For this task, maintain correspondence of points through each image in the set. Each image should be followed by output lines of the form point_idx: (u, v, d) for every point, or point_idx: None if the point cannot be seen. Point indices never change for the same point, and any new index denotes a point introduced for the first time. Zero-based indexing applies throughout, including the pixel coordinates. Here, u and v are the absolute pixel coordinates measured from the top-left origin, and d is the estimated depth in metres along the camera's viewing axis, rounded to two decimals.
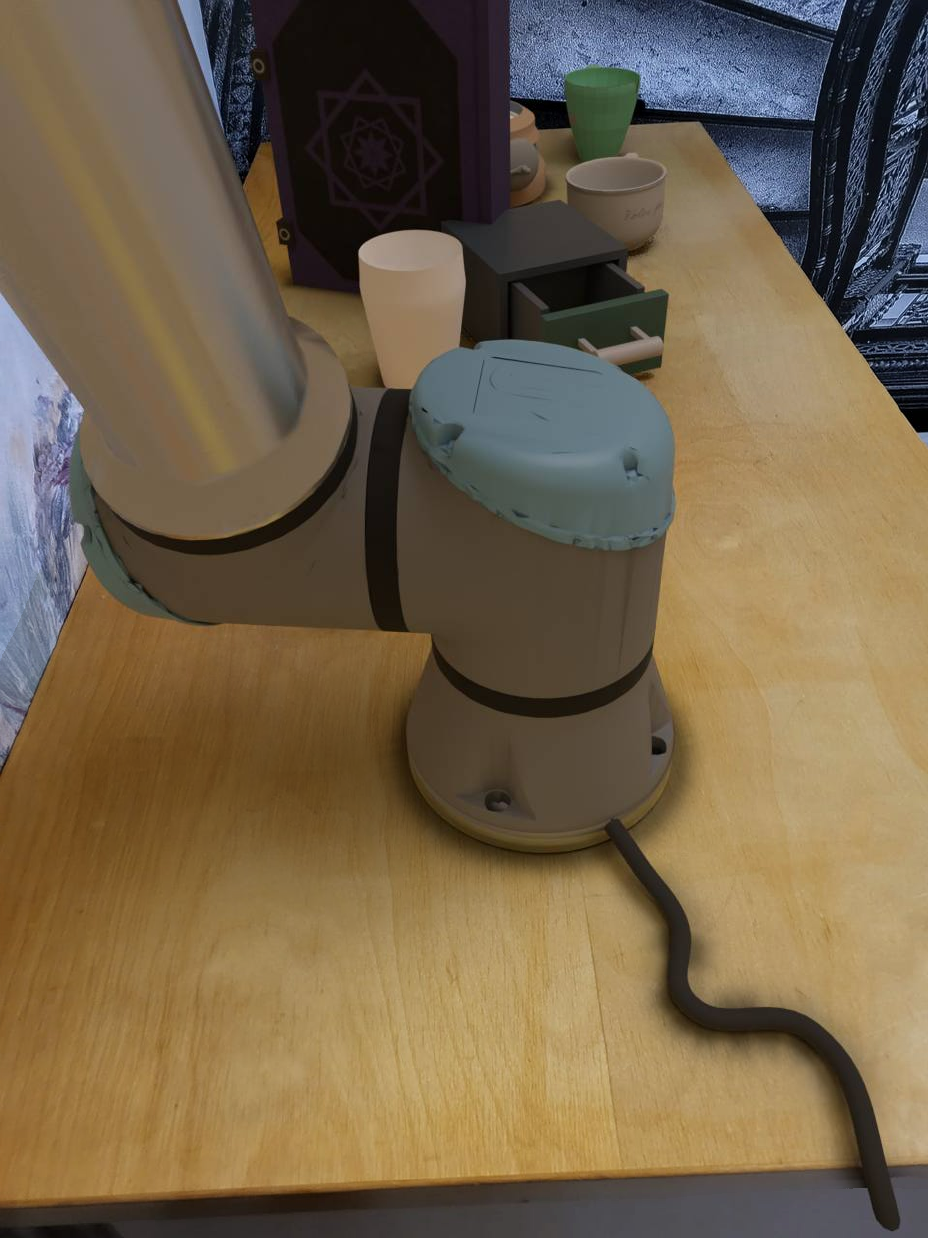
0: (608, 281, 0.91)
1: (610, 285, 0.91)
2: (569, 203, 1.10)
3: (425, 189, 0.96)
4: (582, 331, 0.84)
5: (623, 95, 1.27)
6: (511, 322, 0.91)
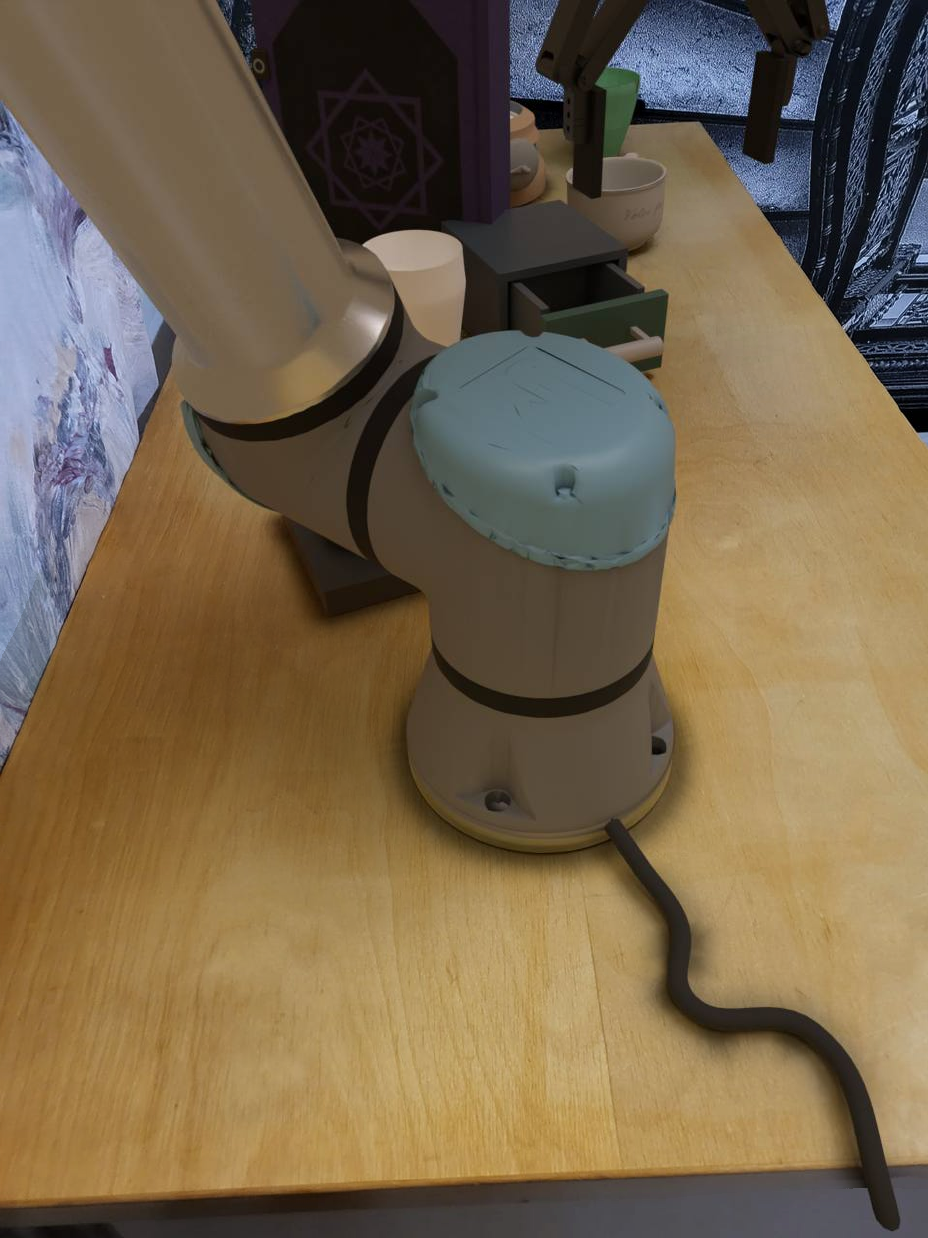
0: (608, 281, 0.91)
1: (610, 285, 0.91)
2: (569, 203, 1.10)
3: (425, 189, 0.96)
4: (582, 331, 0.84)
5: (623, 95, 1.27)
6: (511, 322, 0.91)
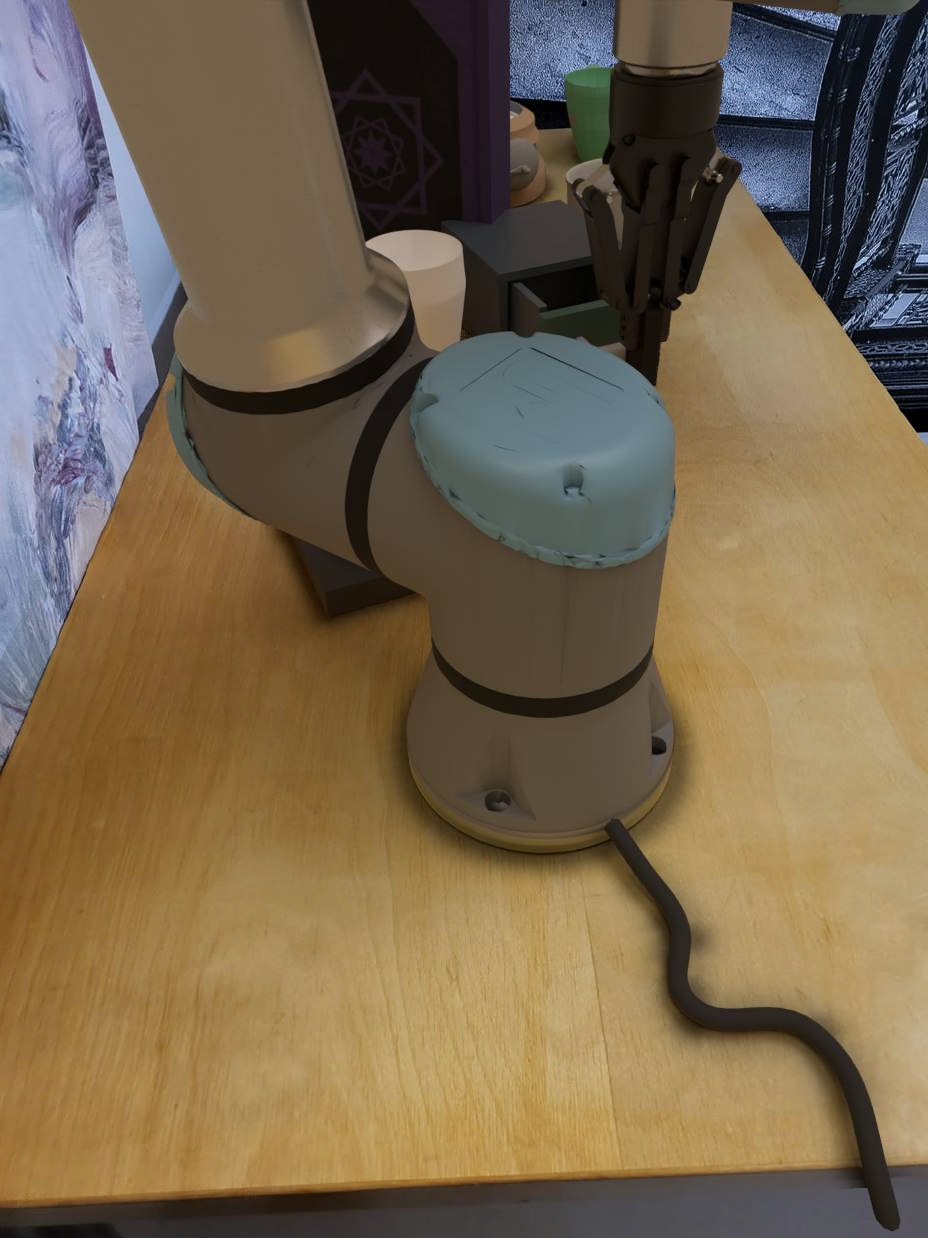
0: None
1: None
2: (569, 203, 1.10)
3: (425, 188, 0.96)
4: (580, 329, 0.85)
5: None
6: (509, 320, 0.91)
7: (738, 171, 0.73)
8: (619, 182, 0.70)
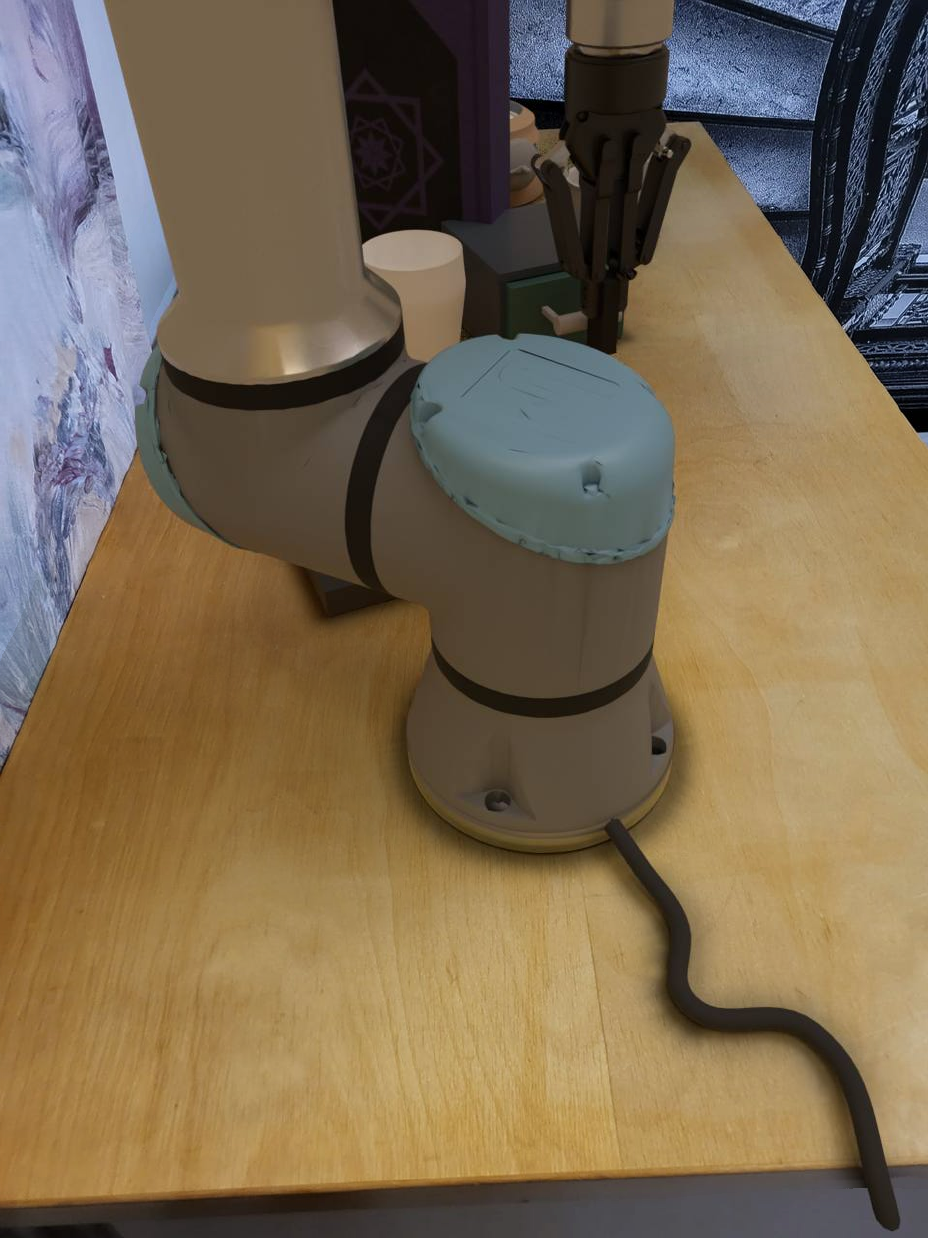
0: None
1: None
2: None
3: (425, 189, 0.96)
4: (545, 299, 0.89)
5: None
6: None
7: (687, 147, 0.78)
8: (575, 157, 0.75)
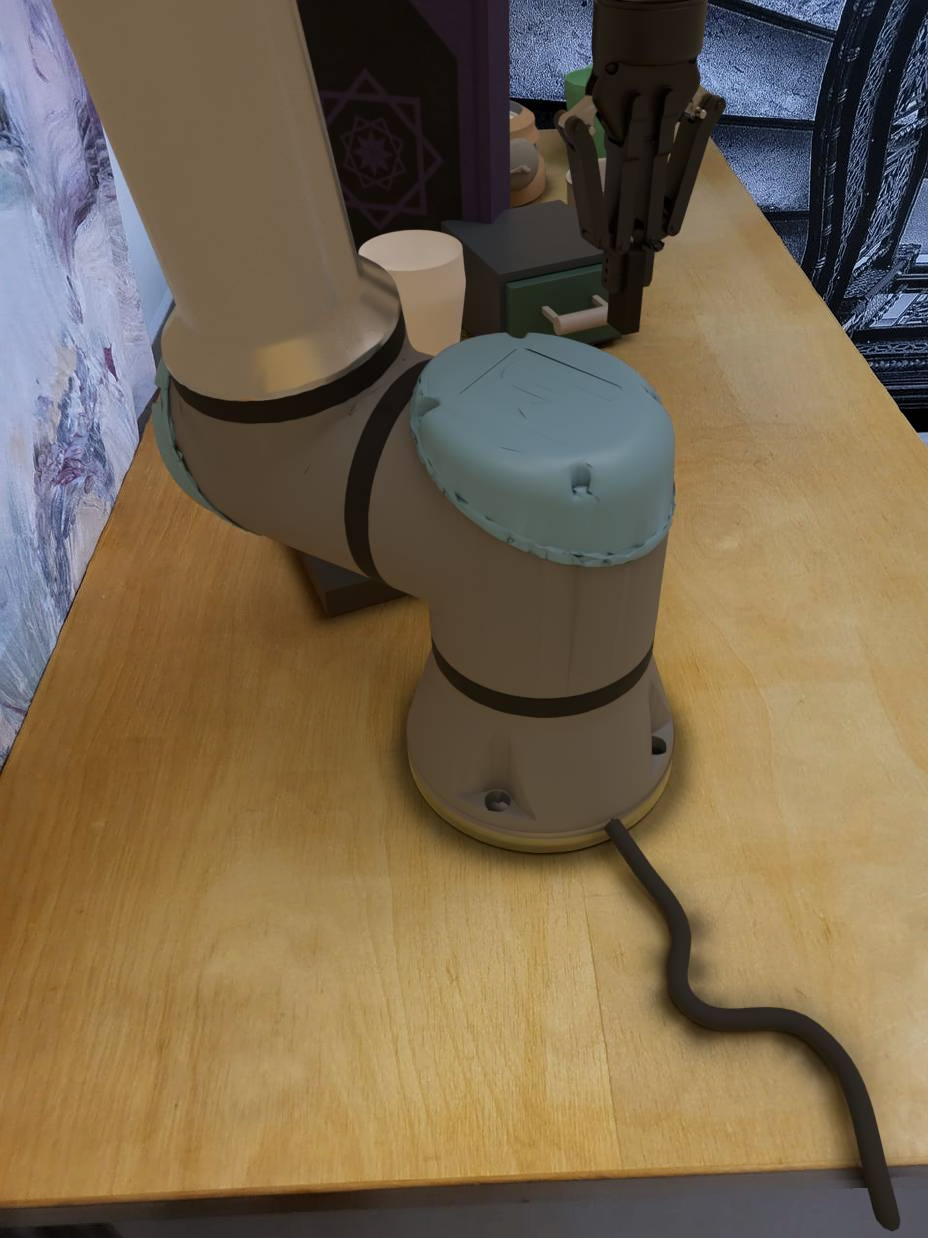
0: None
1: None
2: (569, 203, 1.10)
3: (425, 188, 0.96)
4: (545, 299, 0.89)
5: None
6: None
7: (722, 107, 0.72)
8: (602, 113, 0.69)
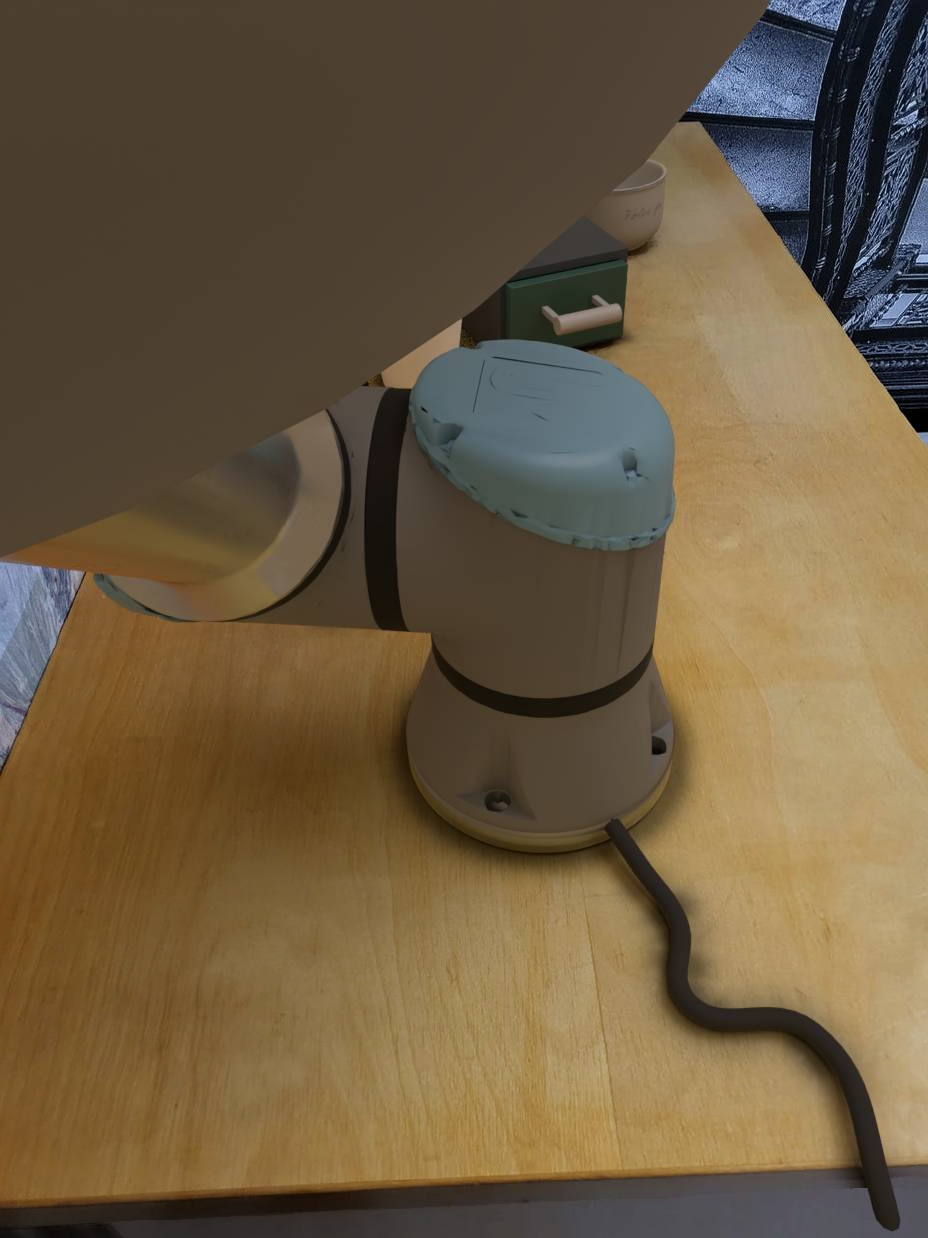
0: None
1: None
2: None
3: None
4: (545, 299, 0.89)
5: None
6: None
7: None
8: None
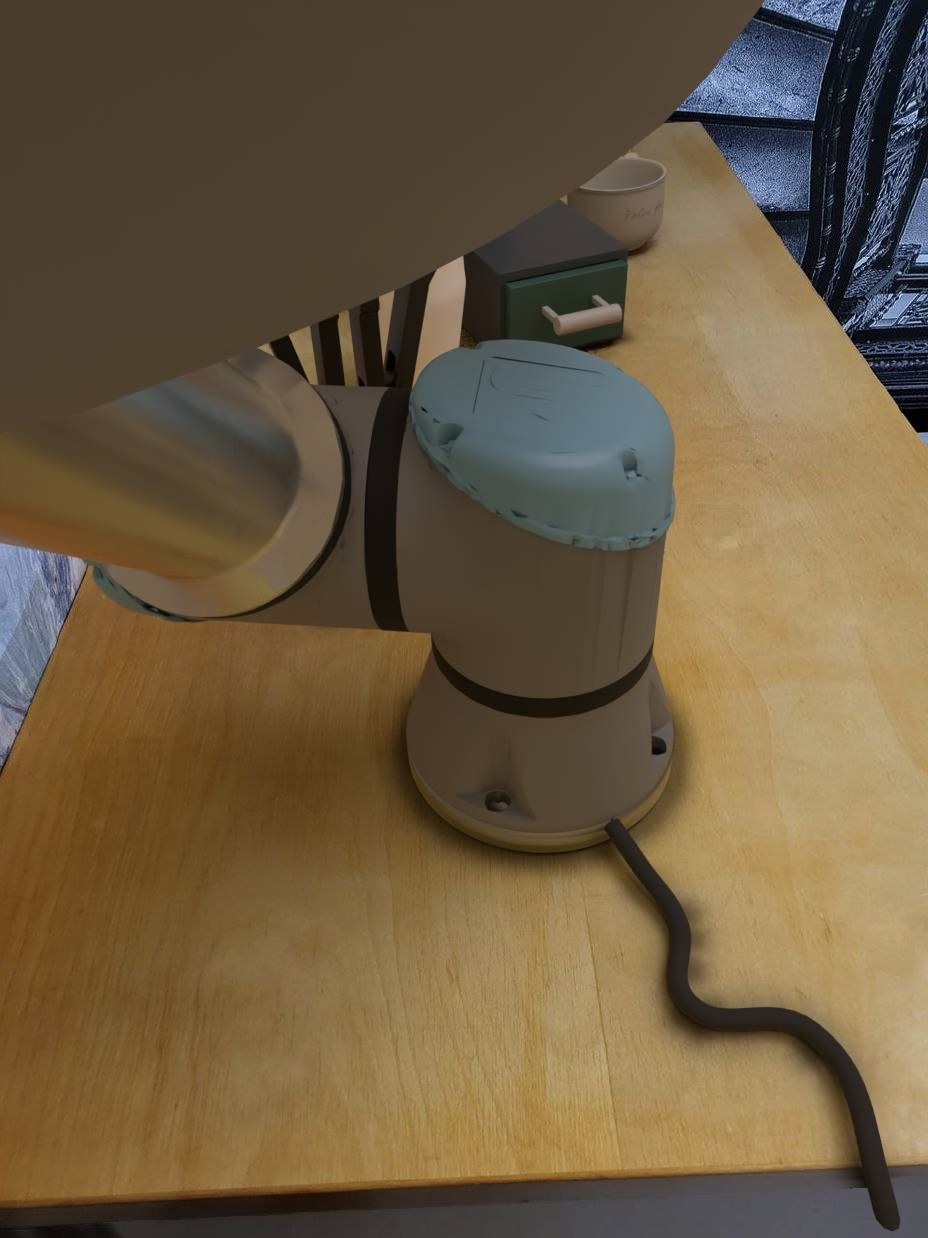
0: None
1: None
2: (569, 203, 1.10)
3: None
4: (545, 299, 0.89)
5: None
6: None
7: None
8: None
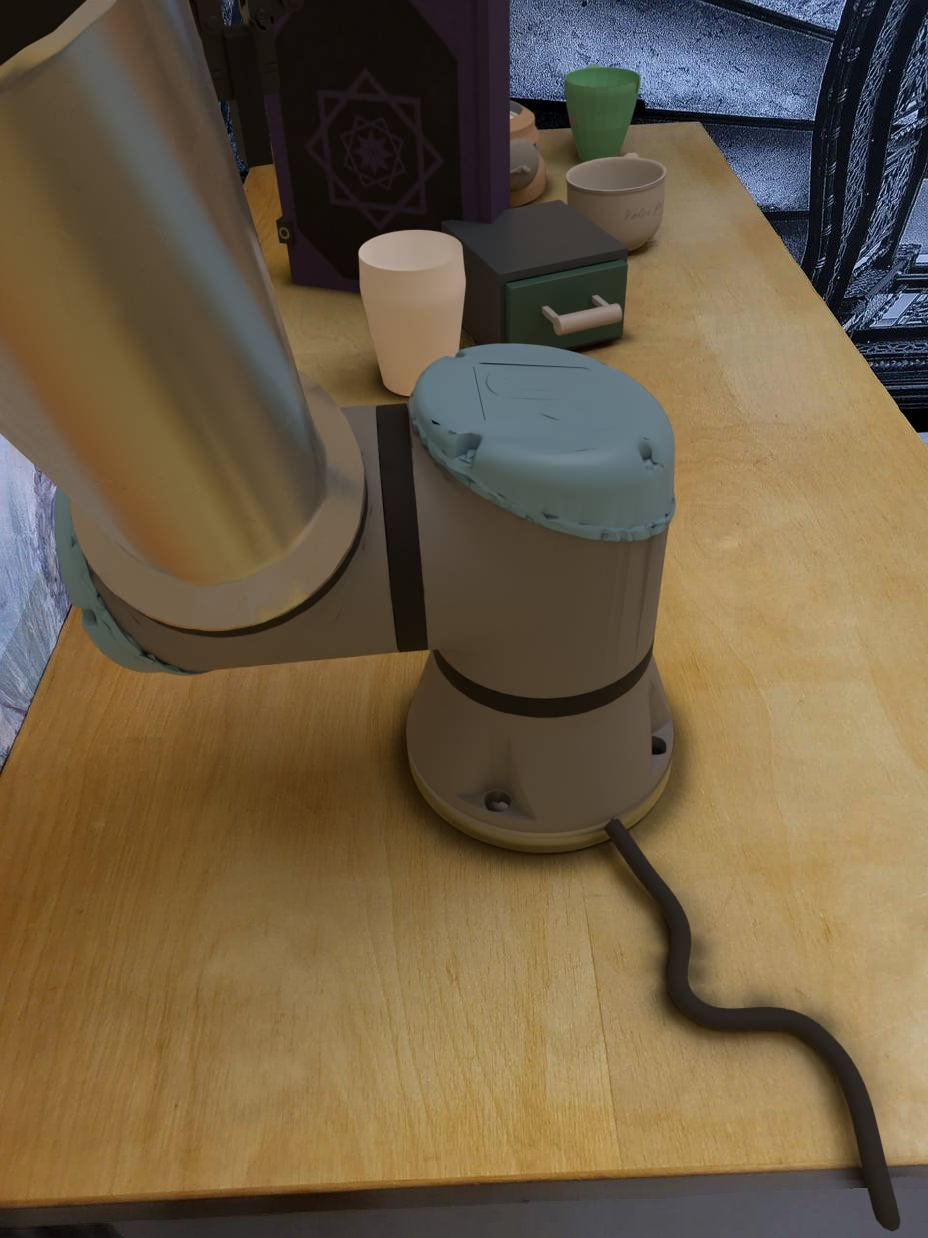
0: None
1: None
2: (569, 203, 1.10)
3: (425, 188, 0.96)
4: (545, 299, 0.89)
5: (623, 95, 1.27)
6: None
7: None
8: None
